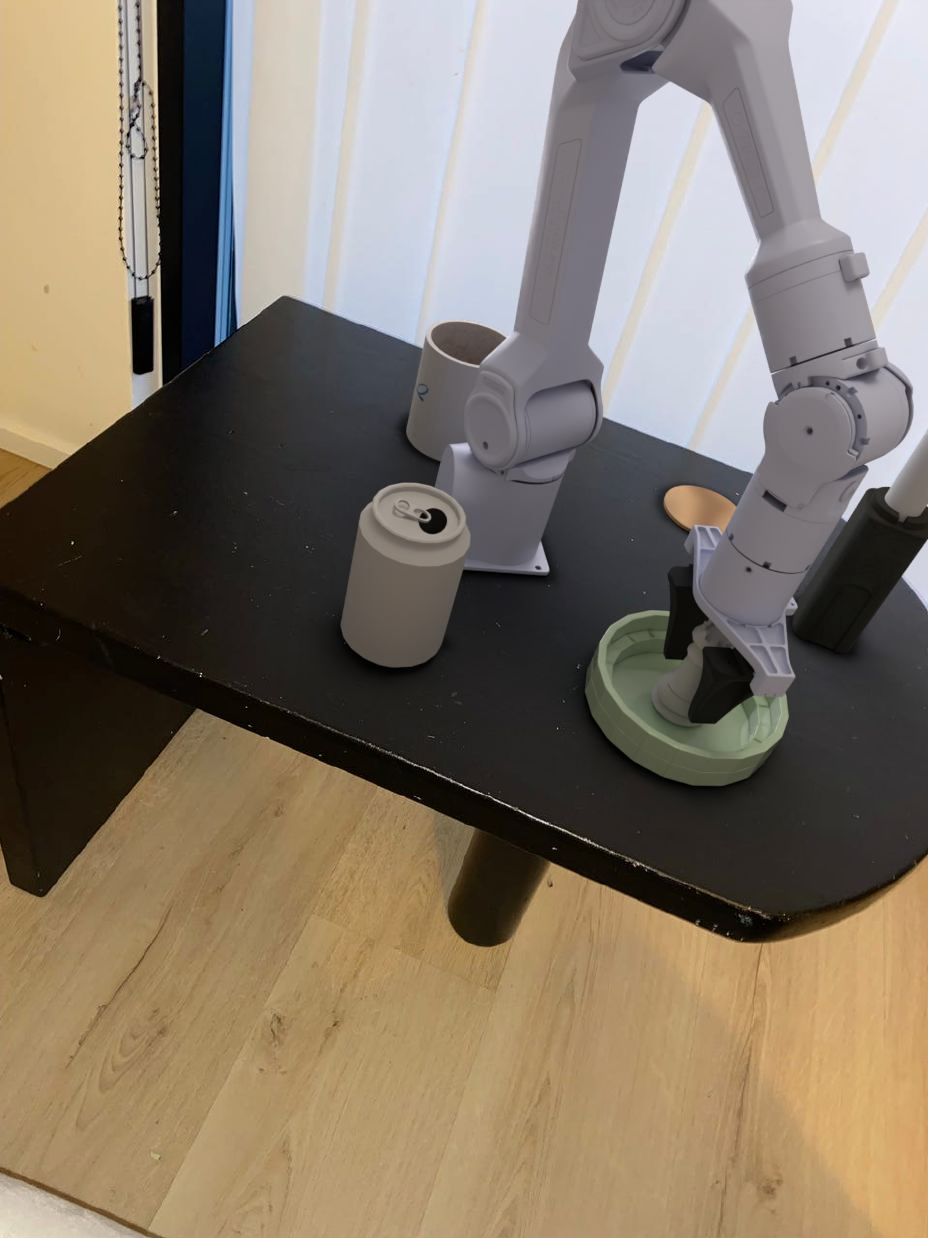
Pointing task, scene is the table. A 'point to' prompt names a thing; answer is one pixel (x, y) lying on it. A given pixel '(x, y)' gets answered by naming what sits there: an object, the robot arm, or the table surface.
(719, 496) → the coaster
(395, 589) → the can
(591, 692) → the dish
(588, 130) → the robot arm
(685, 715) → the rook chess piece
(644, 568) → the table surface
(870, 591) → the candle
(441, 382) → the mug
